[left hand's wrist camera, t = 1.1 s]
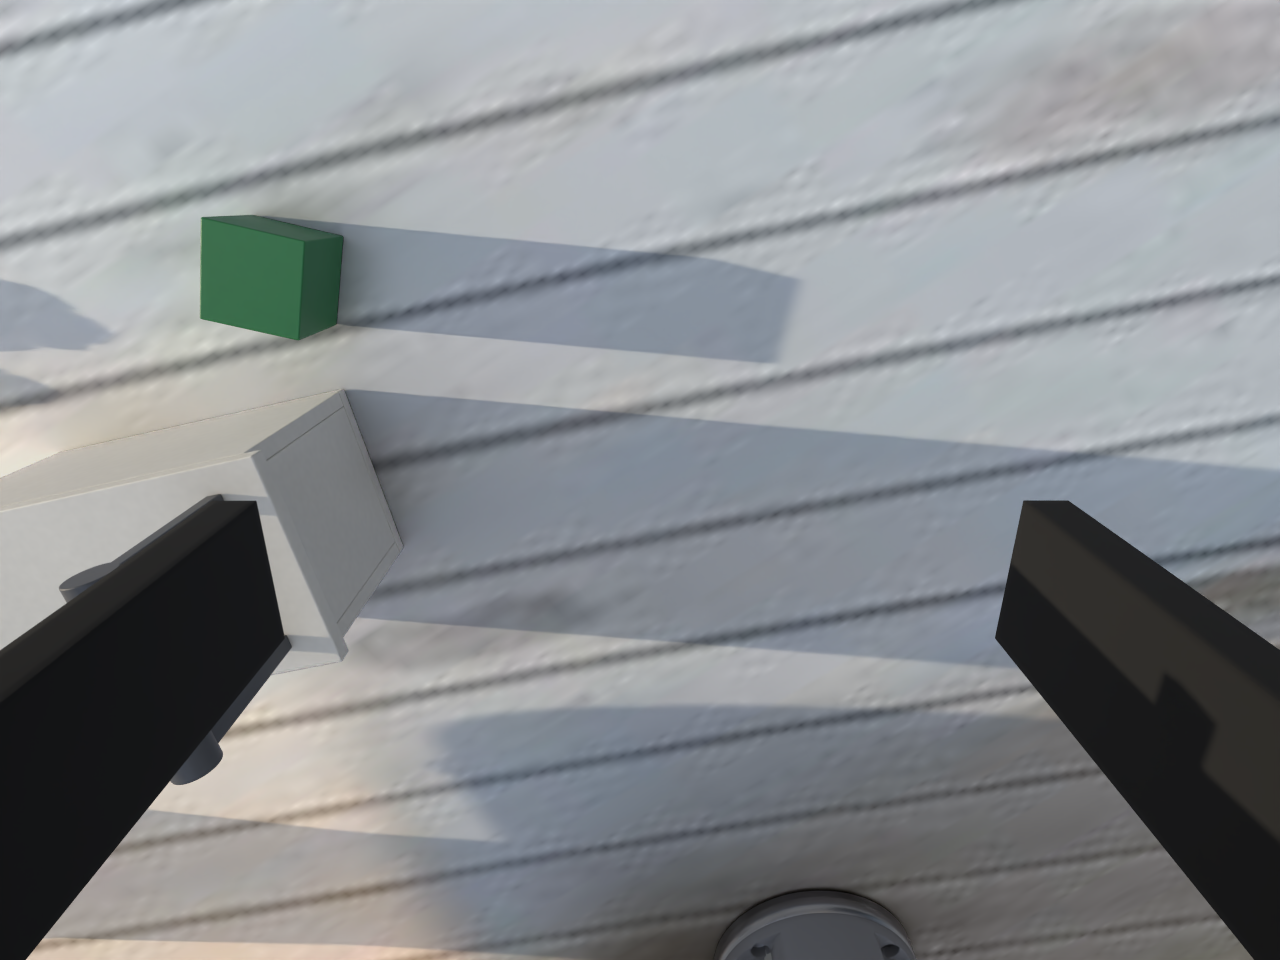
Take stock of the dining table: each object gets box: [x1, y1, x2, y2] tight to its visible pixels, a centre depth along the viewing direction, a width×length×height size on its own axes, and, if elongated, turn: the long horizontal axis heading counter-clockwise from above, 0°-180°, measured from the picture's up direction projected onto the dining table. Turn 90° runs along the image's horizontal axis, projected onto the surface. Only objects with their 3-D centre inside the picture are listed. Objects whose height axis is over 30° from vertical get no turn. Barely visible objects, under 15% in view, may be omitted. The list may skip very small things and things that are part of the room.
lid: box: [0, 450, 348, 785], centre depth 28 cm, size 18×10×9 cm, turn 103°
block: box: [200, 215, 343, 340], centre depth 36 cm, size 5×5×5 cm
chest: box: [0, 389, 403, 637], centre depth 38 cm, size 17×10×11 cm, turn 102°
